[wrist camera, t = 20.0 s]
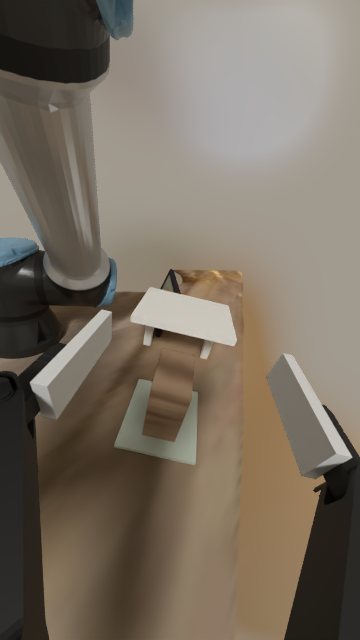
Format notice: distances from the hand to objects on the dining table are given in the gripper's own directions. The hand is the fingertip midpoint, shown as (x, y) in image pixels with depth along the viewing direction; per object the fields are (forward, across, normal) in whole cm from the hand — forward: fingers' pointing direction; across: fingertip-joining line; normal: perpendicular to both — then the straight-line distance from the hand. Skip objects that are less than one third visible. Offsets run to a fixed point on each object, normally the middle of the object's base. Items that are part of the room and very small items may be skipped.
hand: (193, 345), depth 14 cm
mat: (+10, 0, -28) cm, 29 cm away
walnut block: (+10, 0, -27) cm, 28 cm away
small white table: (+24, 0, -28) cm, 36 cm away
